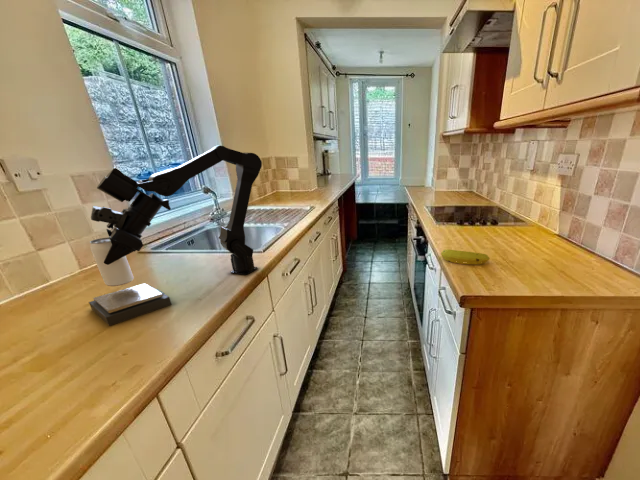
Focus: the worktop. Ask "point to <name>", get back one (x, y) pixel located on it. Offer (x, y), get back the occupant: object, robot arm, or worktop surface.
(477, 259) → the banana
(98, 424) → the worktop surface
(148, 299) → the scale pan
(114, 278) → the can
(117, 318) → the scale
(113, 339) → the worktop surface
